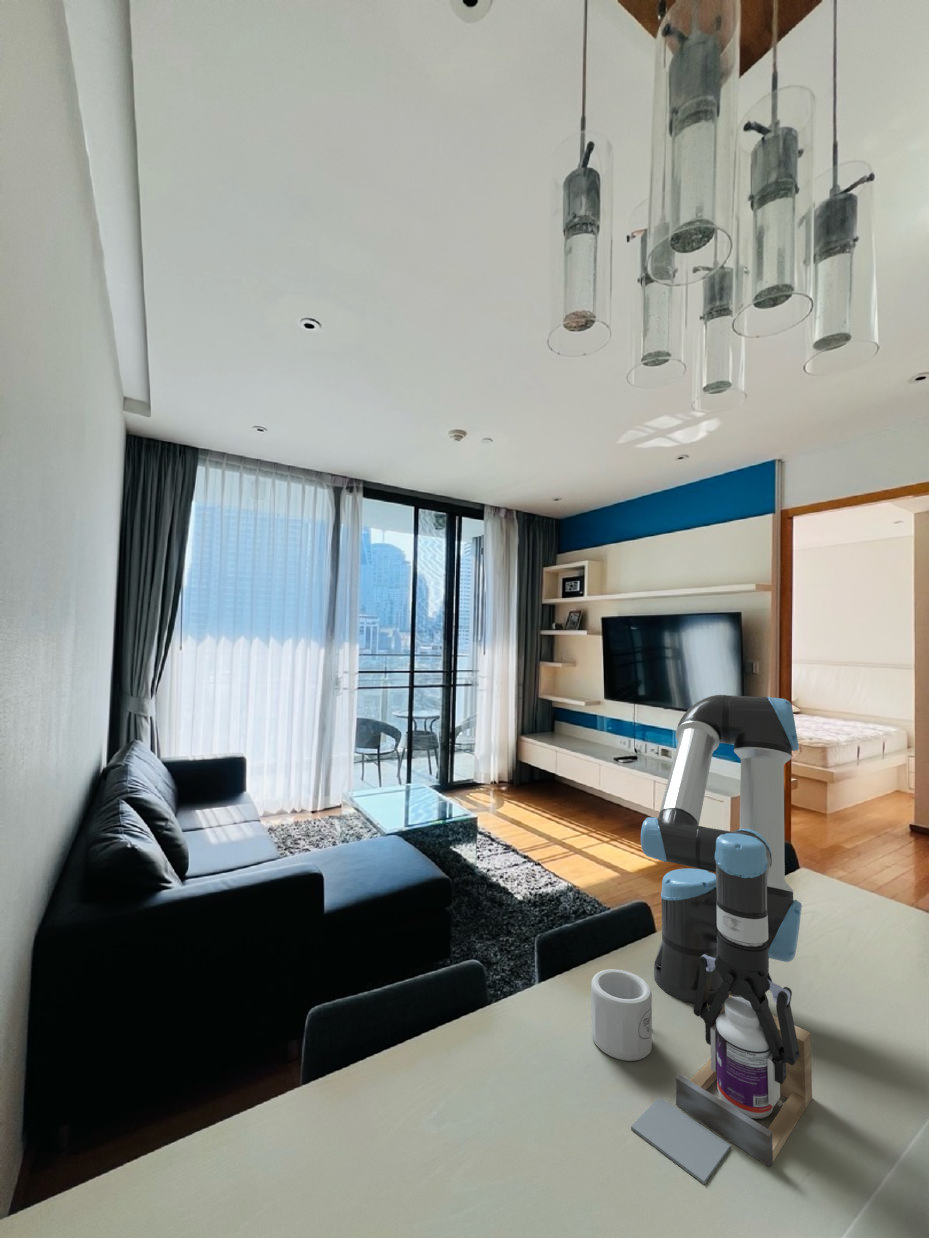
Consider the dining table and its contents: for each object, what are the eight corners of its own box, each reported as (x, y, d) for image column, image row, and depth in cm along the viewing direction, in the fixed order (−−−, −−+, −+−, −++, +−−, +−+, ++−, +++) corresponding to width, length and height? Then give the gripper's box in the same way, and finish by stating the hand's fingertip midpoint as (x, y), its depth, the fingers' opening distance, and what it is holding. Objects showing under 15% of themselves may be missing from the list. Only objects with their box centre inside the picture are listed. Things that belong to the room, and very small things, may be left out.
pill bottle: (724, 1073, 91) (722, 985, 92) (778, 1098, 86) (776, 1004, 87) (711, 1103, 85) (709, 1008, 86) (768, 1132, 80) (766, 1030, 81)
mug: (635, 1072, 91) (634, 1011, 91) (580, 1040, 98) (580, 983, 99) (668, 1033, 100) (667, 978, 101) (615, 1007, 108) (615, 955, 109)
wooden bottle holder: (676, 1104, 84) (675, 1037, 85) (725, 1050, 96) (725, 992, 97) (769, 1167, 74) (768, 1090, 75) (812, 1097, 86) (810, 1032, 87)
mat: (630, 1128, 80) (630, 1126, 80) (659, 1099, 85) (659, 1096, 85) (704, 1184, 71) (704, 1181, 72) (730, 1147, 77) (730, 1144, 77)
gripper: (670, 918, 93) (671, 1056, 91) (807, 972, 77) (811, 1141, 75) (690, 905, 97) (691, 1036, 96) (823, 954, 82) (827, 1112, 80)
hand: (744, 1082), depth 85 cm, fingers closed on pill bottle, 8 cm apart
